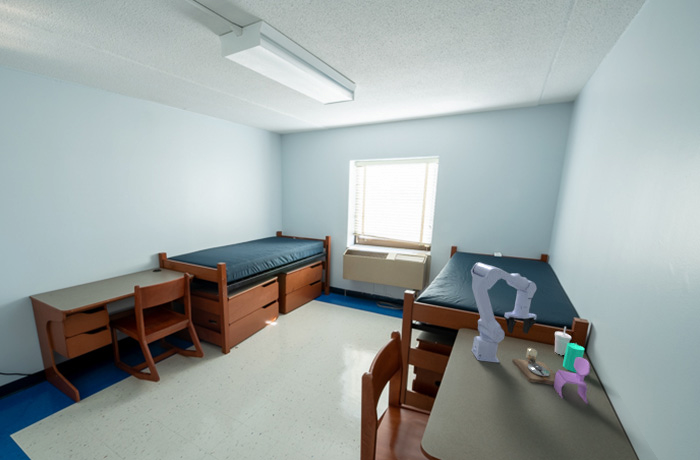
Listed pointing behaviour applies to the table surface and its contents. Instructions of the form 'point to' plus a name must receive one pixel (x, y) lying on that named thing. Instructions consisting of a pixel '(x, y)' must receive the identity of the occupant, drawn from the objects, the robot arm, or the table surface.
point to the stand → (532, 377)
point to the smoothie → (561, 342)
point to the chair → (574, 377)
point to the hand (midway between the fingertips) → (517, 332)
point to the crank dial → (535, 364)
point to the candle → (572, 356)
